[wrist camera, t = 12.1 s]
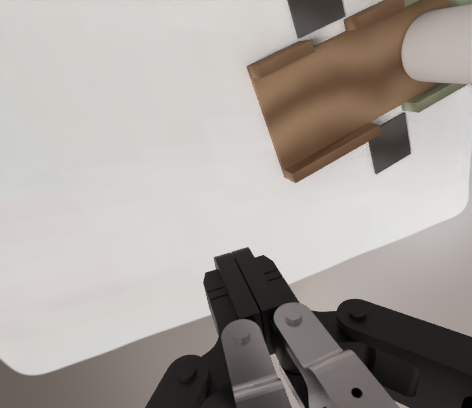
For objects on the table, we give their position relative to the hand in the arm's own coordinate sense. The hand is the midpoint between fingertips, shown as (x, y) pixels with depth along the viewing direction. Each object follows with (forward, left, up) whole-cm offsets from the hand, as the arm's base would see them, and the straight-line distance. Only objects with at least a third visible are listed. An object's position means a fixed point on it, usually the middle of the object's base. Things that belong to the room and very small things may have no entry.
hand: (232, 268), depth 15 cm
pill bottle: (+4, +36, -23) cm, 43 cm away
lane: (+3, +27, -24) cm, 36 cm away
